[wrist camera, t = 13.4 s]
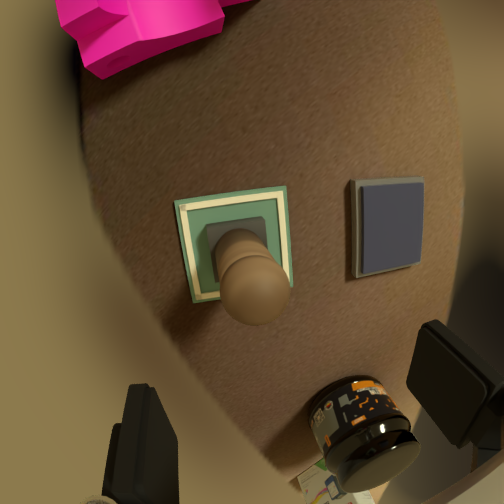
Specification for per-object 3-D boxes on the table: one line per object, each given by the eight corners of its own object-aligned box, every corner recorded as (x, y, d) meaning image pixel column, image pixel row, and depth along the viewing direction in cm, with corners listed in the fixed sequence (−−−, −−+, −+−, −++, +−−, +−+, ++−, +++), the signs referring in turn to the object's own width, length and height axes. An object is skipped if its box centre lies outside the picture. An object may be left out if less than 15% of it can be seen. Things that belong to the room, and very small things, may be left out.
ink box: (315, 478, 41) (335, 530, 30) (294, 475, 39) (314, 532, 28) (351, 452, 40) (378, 506, 29) (332, 448, 38) (360, 507, 27)
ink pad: (350, 179, 25) (358, 181, 24) (417, 175, 26) (427, 177, 25) (351, 274, 28) (358, 279, 27) (415, 260, 29) (423, 265, 28)
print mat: (174, 200, 24) (174, 201, 23) (285, 185, 25) (286, 186, 24) (193, 301, 26) (193, 304, 26) (292, 285, 28) (293, 287, 27)
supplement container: (393, 381, 35) (439, 441, 24) (342, 432, 37) (374, 494, 26) (343, 360, 32) (393, 435, 21) (288, 419, 34) (316, 496, 22)
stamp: (206, 224, 24) (210, 273, 14) (261, 216, 25) (302, 258, 15) (214, 275, 26) (224, 349, 16) (266, 267, 26) (305, 334, 16)
